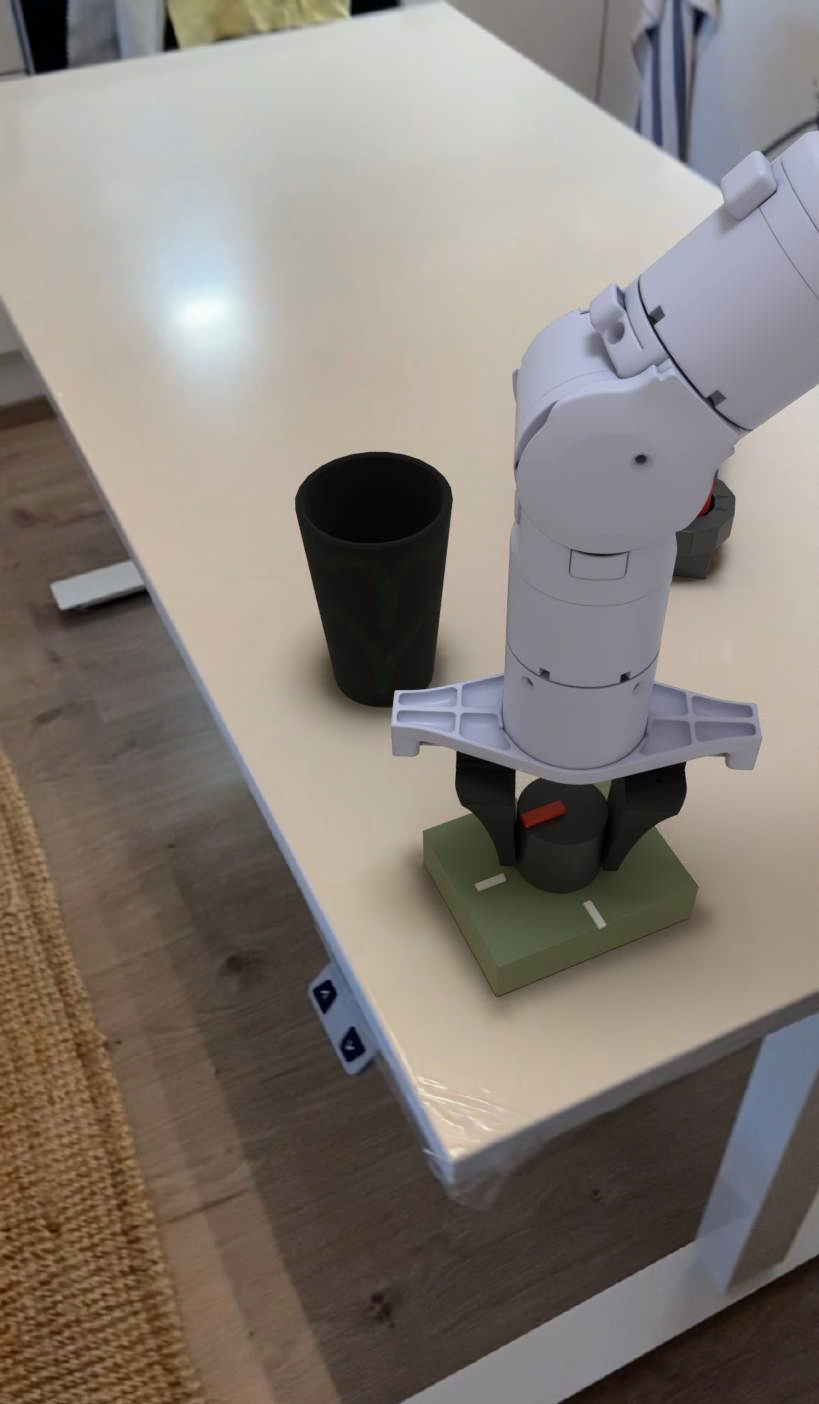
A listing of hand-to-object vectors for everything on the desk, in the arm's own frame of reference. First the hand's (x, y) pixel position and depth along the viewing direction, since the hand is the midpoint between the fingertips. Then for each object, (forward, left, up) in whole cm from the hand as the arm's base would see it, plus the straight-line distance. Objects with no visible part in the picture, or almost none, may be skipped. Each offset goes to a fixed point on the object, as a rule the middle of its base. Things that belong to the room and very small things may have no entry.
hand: (558, 850), depth 54 cm
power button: (-7, -25, +1) cm, 26 cm away
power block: (-5, -32, -3) cm, 33 cm away
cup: (+9, -14, -3) cm, 17 cm away
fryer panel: (0, 0, -3) cm, 3 cm away
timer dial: (0, 0, 0) cm, 0 cm away
